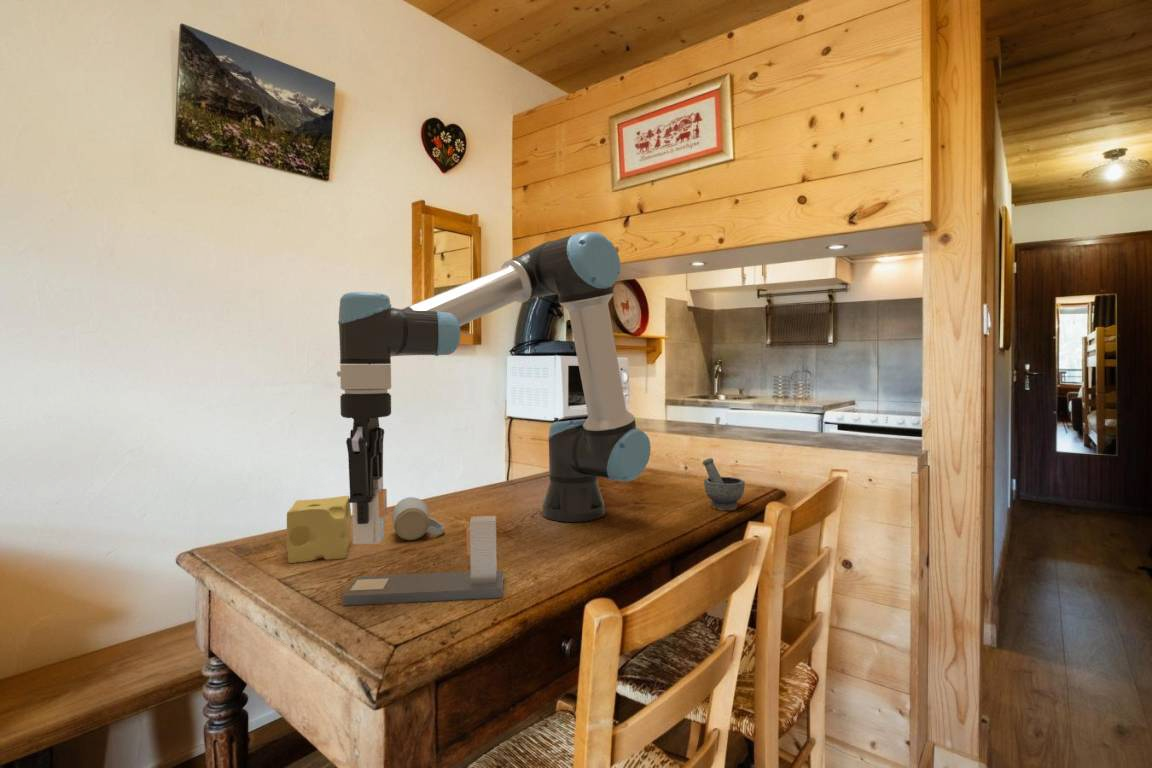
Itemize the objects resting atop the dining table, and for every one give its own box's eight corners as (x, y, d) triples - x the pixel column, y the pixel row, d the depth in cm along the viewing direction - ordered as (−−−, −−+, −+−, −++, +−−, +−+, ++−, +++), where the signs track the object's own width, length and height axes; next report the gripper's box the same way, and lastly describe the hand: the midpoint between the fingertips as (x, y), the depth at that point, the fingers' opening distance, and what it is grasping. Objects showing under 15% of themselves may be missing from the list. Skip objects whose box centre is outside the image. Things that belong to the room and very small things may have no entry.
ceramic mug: (393, 544, 116) (393, 506, 116) (392, 532, 124) (392, 497, 124) (446, 539, 120) (446, 503, 119) (442, 528, 127) (442, 494, 127)
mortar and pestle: (751, 508, 143) (752, 460, 142) (729, 514, 137) (729, 464, 136) (714, 500, 151) (714, 455, 151) (692, 506, 145) (692, 459, 145)
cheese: (346, 559, 107) (345, 506, 107) (284, 565, 104) (282, 511, 104) (352, 542, 117) (351, 494, 117) (294, 547, 114) (293, 498, 114)
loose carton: (387, 537, 92) (386, 476, 92) (383, 543, 89) (382, 479, 89) (358, 538, 91) (357, 476, 91) (353, 544, 88) (351, 480, 88)
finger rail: (503, 578, 97) (502, 511, 96) (502, 597, 89) (501, 524, 88) (357, 585, 94) (356, 516, 94) (342, 605, 86) (341, 530, 86)
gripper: (355, 389, 97) (357, 526, 98) (323, 394, 81) (326, 557, 82) (400, 389, 98) (402, 524, 99) (378, 394, 82) (380, 555, 83)
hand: (368, 539), depth 90 cm, fingers closed on loose carton, 3 cm apart
